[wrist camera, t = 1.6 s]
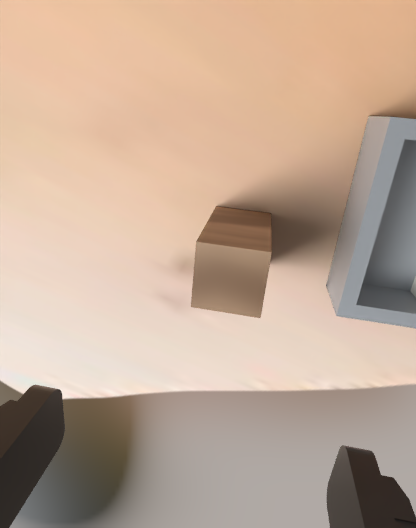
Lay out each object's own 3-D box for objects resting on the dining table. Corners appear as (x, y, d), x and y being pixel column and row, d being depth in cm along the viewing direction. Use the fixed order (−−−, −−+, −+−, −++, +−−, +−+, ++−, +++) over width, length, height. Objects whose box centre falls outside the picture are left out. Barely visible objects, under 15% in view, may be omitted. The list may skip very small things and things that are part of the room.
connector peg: (216, 206, 26) (196, 241, 19) (270, 213, 26) (271, 252, 19) (211, 256, 28) (190, 306, 21) (262, 263, 28) (260, 317, 20)
